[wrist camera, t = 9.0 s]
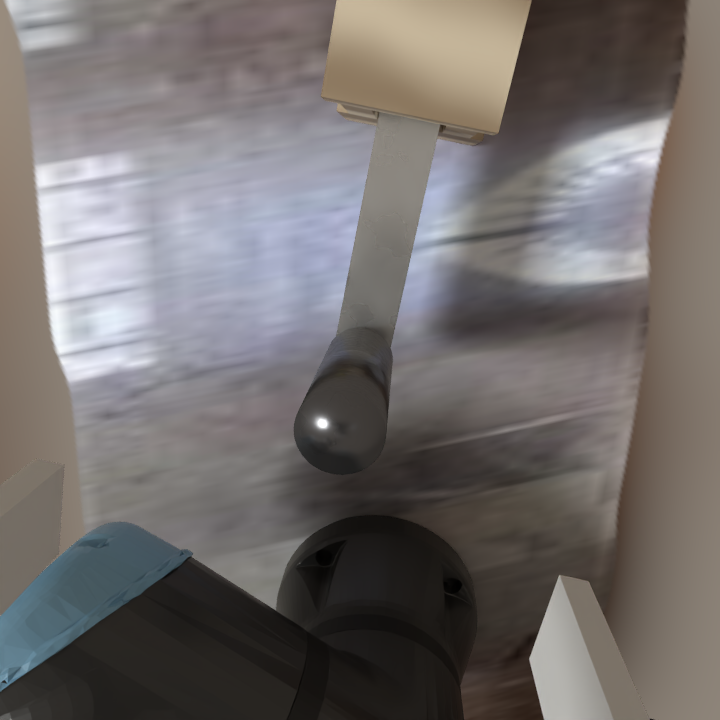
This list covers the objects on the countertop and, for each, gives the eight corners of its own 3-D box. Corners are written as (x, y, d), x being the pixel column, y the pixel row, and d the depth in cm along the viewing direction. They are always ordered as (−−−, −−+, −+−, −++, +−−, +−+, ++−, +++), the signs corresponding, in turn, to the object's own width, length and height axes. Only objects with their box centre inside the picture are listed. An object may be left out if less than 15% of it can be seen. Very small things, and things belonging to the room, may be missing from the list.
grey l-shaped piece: (387, 379, 37) (375, 483, 24) (328, 366, 37) (287, 463, 24) (491, -87, 29) (552, -280, 17) (418, -102, 29) (425, -305, 17)
